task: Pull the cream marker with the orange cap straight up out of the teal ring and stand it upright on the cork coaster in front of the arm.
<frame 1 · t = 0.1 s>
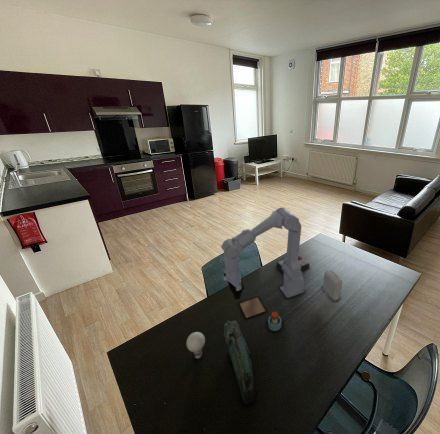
hand: (234, 292, 102), 10 cm above the table, tool pointing down, fingers open, 7 cm apart
ceramic cat: (241, 374, 81), on the table
calculator: (292, 268, 134), on the table
lightbulb: (198, 356, 87), on the table
marker: (274, 319, 98), in the teal ring
teal ring: (274, 325, 99), on the table
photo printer: (330, 293, 117), on the table
coaster: (252, 307, 108), on the table
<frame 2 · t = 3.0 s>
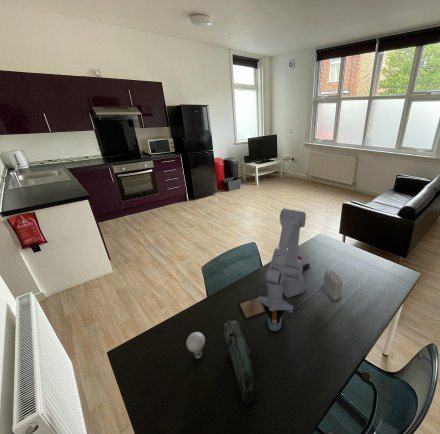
hand: (274, 319, 98), 4 cm above the table, tool pointing down, fingers closed on marker, 3 cm apart
marker: (274, 319, 98), in the teal ring, touching gripper
everything else where it was.
when the fingers open (4 cm above the table, at t = 8.1 s): marker stays where it is, resting on coaster.
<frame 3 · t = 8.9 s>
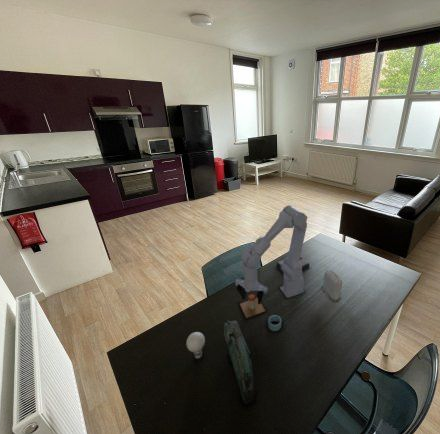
hand: (251, 300, 106), 4 cm above the table, tool pointing down, fingers open, 7 cm apart
marker: (251, 301, 106), resting on coaster
everything else where it was.
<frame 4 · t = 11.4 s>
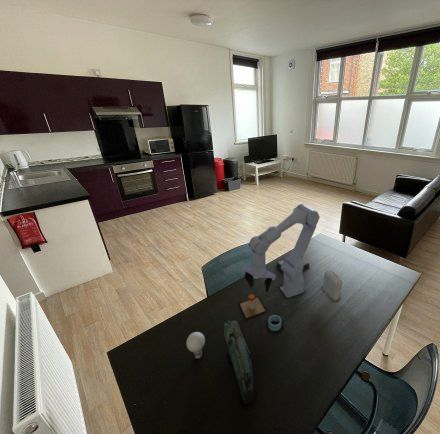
hand: (259, 288, 106), 9 cm above the table, tool pointing down, fingers open, 7 cm apart
nothing on the table moved.
at the end: marker inside the target area (0.0 cm from its centre), resting on coaster; marker tilted 0°; the gripper is holding nothing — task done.
